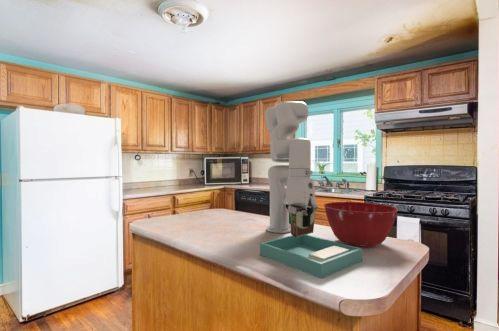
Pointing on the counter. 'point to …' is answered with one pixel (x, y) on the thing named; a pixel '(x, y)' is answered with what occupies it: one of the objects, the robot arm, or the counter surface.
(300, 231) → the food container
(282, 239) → the tray
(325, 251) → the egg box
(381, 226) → the mixing bowl
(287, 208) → the robot arm
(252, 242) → the counter surface
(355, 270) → the counter surface
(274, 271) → the counter surface
